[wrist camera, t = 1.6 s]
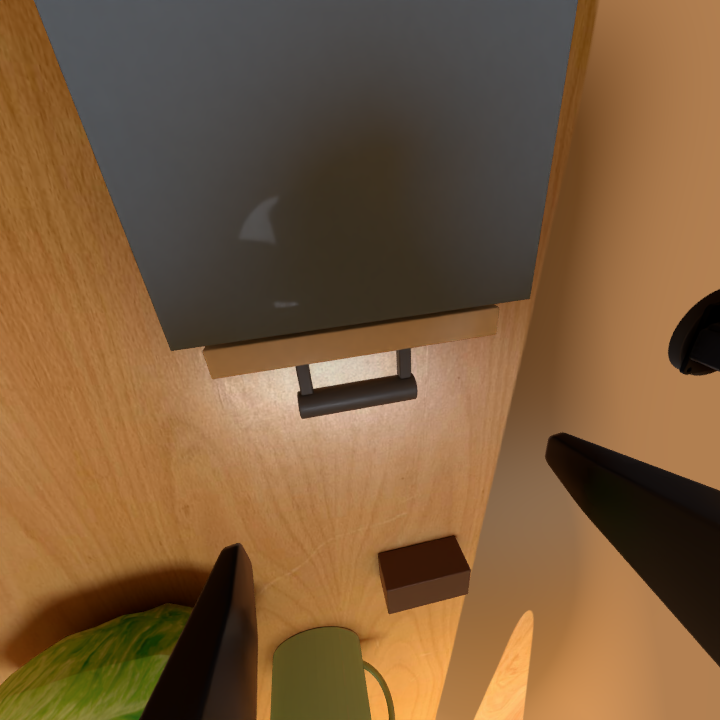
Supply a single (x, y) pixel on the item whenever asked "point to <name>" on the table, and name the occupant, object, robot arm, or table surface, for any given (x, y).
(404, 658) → the table surface
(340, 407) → the drawer
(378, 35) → the cabinet
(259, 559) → the table surface
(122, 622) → the lettuce
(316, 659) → the mug
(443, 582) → the chocolate bar
